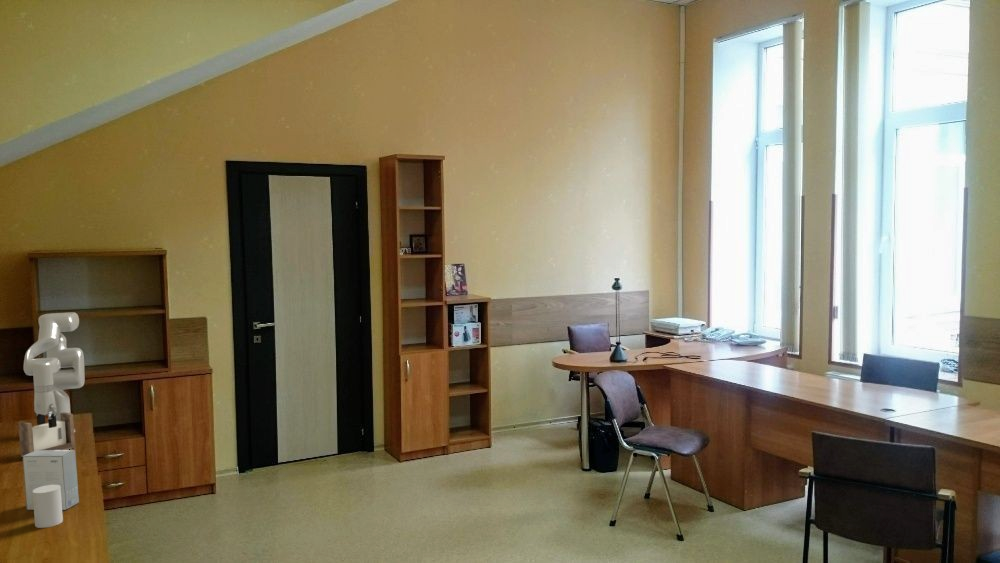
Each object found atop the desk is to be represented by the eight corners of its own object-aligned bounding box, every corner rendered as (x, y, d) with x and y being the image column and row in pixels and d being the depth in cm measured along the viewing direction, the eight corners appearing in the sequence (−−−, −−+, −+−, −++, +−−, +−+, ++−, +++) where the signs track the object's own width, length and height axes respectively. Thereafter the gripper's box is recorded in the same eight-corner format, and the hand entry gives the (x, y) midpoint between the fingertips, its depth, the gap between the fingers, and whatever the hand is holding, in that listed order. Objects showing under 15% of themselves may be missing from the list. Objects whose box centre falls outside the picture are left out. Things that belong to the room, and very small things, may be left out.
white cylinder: (42, 519, 257) (40, 485, 257) (67, 517, 258) (65, 484, 257) (30, 528, 249) (27, 493, 248) (55, 527, 250) (52, 492, 249)
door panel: (29, 454, 332) (27, 427, 331) (61, 445, 344) (60, 420, 343) (34, 455, 330) (32, 428, 329) (67, 447, 342) (65, 421, 341)
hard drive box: (80, 502, 272) (76, 449, 271) (65, 510, 265) (62, 456, 263) (40, 502, 274) (36, 449, 272) (25, 510, 266) (21, 455, 265)
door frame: (21, 457, 331) (18, 422, 330) (65, 445, 347) (63, 412, 346) (30, 460, 326) (27, 424, 325) (75, 448, 343) (73, 414, 342)
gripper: (25, 388, 336) (28, 425, 338) (45, 392, 327) (48, 430, 329) (42, 384, 343) (45, 420, 344) (63, 389, 334) (65, 426, 335)
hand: (47, 425), depth 337 cm, fingers open, 9 cm apart
